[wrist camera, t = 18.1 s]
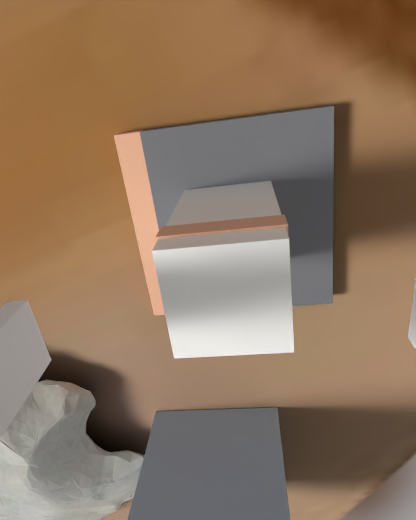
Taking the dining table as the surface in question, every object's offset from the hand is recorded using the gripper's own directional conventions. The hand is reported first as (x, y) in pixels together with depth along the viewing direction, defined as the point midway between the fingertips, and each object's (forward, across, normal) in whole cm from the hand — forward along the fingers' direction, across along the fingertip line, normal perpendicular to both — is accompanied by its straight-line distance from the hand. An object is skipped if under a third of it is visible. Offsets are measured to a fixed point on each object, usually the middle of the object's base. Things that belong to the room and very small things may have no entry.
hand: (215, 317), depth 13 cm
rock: (+12, -20, -17) cm, 29 cm away
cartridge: (+11, 0, -1) cm, 11 cm away
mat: (+12, 0, -1) cm, 12 cm away
